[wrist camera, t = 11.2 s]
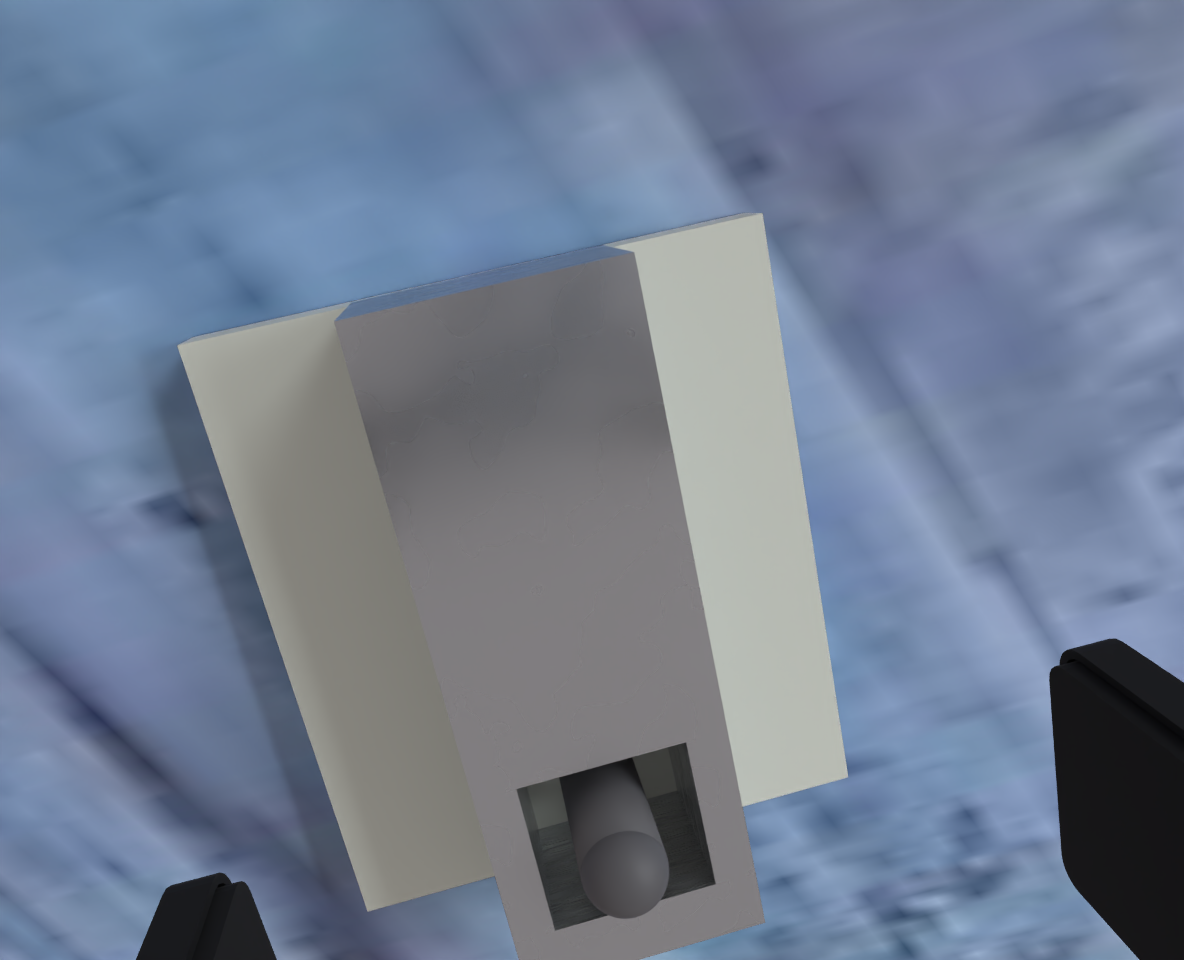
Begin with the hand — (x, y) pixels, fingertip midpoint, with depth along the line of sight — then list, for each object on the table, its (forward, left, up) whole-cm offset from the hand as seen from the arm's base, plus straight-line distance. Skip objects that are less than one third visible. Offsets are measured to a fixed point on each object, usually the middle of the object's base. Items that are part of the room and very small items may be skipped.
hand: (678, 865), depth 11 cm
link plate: (+2, 0, -14) cm, 14 cm away
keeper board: (+2, 0, -16) cm, 16 cm away
